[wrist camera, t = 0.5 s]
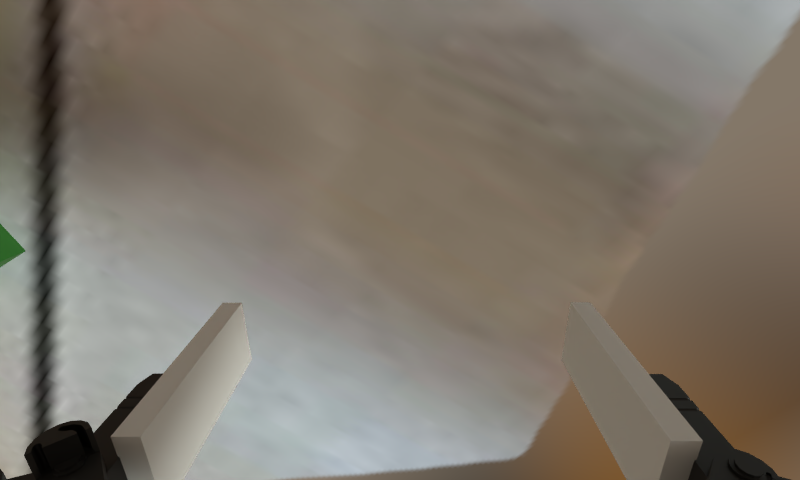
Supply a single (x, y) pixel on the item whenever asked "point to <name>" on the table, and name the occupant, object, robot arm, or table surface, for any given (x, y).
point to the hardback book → (8, 247)
